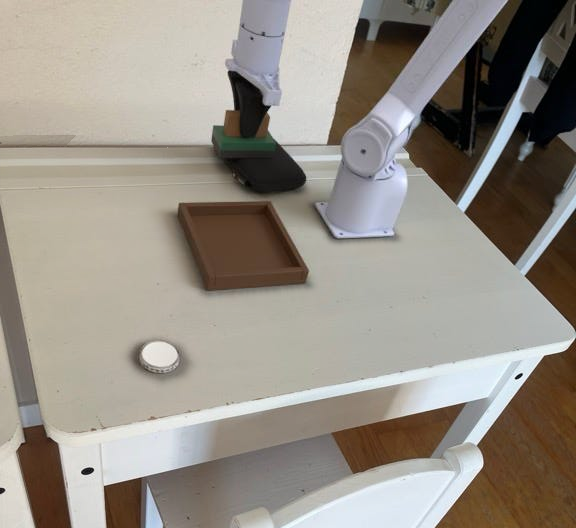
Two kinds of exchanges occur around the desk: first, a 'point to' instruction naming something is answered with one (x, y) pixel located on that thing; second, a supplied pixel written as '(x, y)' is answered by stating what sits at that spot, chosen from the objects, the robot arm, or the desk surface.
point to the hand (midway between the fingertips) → (245, 131)
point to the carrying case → (268, 172)
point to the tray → (241, 245)
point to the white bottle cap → (159, 356)
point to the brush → (242, 139)
